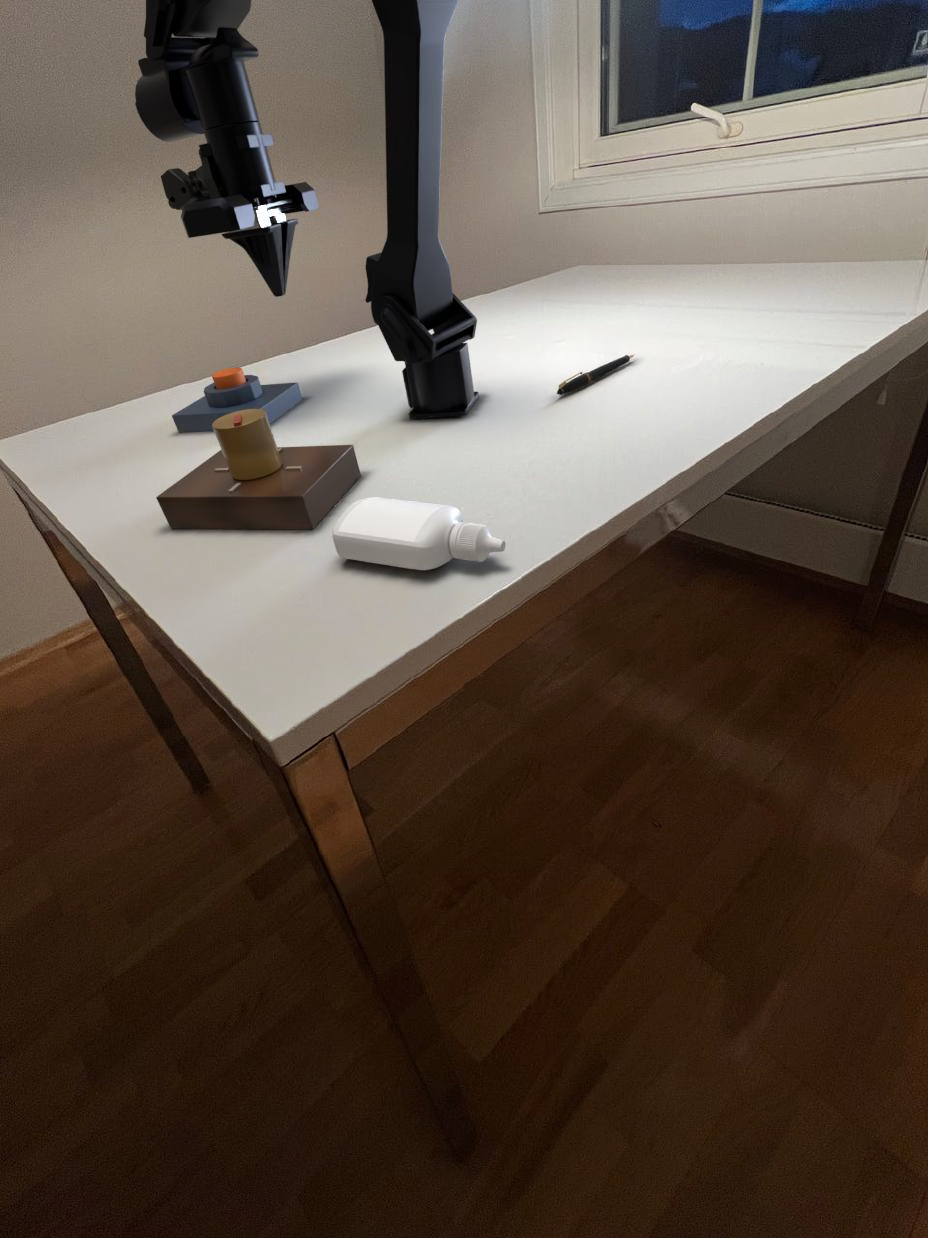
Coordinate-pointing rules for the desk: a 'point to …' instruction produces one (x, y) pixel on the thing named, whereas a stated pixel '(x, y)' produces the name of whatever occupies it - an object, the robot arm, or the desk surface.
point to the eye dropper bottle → (410, 534)
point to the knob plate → (263, 491)
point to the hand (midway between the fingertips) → (280, 295)
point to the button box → (237, 403)
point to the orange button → (229, 378)
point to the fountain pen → (591, 375)
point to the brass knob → (247, 444)
